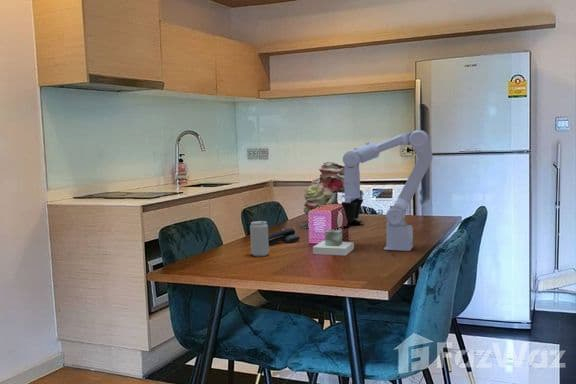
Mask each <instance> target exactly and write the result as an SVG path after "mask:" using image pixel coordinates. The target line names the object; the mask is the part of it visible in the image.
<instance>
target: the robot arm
mask: <svg viewBox="0 0 576 384" xmlns="http://www.w3.org/2000/svg"><path fill="white" fill-rule="evenodd" d="M398 146H407V147H408V146H410V147H412V148H413V150H414V151H415V154H416V156H417V161H416V163H415V165H414V166H413V169H412V171H410V174H409V176H408V178H407V180H406V182H405V184H404V185H403V187H402V189H401V191H400V193H399V194H398V196H397V198H396V200H395V202H394V205H392V206H390V208H389V209H388V210H387V211H386V214H385V219H386V221H387V222H386V223H385V224H386V225H385V226H386V227H385V228H386V229H385V233H386V235H385V237H386V242H385V243H386V244H385V246H384V247H383V250H384V251H405V252H409V251H411V250H412V249H413V247H414V241H413V240H414V239H413V238H414V235H413V234H414V233H413V232H414V230H413V229H414V228H413V225H410V224H407V222H406V221H405V220H404V219H405V218H406V216H407V208H408V207H409V205H410V202H411V201H412V198H413V197H414V195H415V193H416V192H417V190H418V188H419V186H420V184H421V182H422V180H423V178H424V176H425V174H426V173H427V170H428V169H429V167H430V165H431V163H432V161H433V158H434V157H433V150H432V142H431V139H430V137H429V134H428V133H427V132H426V131H425V130H421V129H417V130H414V131H410V132H405V133H401V134H398V135H396V136H394V137H392V138H389V139H386V140H384V141H382V142H380V143H378V144H377V143H376V142H366V143H365V145H362V146H360V147H354V148H353V150H349V151H347V152H346V153H344V155H343V156H342V162H343V164H344V169H345V171H344V183H345V184H344V185H345V193H344V194H342V195H341V198H344V201H342V202H341V206H342V209H343V211H344V213H345V215H346V218H347V221H353V220H354V218H356V219H359V216H360V211H361V206H362V205H363V202H364V199H363V198H361V197H362V196H361V195H362V194H361V174H360V173H361V172H360V164H364V163H366V162H368V161H371V160H374V159H377V158H379V156H380V154H381V153H382V152H385V151H387V150H390V149H393V148H395V147H398Z"/></svg>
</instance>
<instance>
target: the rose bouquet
mask: <svg viewBox="0 0 576 384" xmlns="http://www.w3.org/2000/svg"><path fill="white" fill-rule="evenodd" d="M318 170H319V172H320V173H321V174H320V175H319V178H315V179H313V180H312V181H311V182H310V184H309V185H308V187H307V188H306V189H304V191H305V194H304V196H303V197H304V199H305V200H306V201H305V202H304V204H303V206H304V208H303V213H305V215H308V212H309V211H310V210H312V209H315V208H317V207H320V206H322V205H326V204H339V202H338V200H339V199H338V196H339V195H338V193H341V194H345V185H344V184H345V183H344V171H345V169H344V166H343V165H340V164H338V163H335V161H332V162H331V161H326V162H323V164H322V165H321V166H320V168H319V169H318ZM348 222H349V223H348V224H350V223H351V224H353V225H364V226H365V224H364V221H363V220H360V219H359V218H354V220H353V221H348ZM308 223H309V222H305V223H300V227H306V228H307V229H308ZM351 227H352V226H351V225H349V227H348V228H351ZM306 228H305V229H306Z"/></svg>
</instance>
